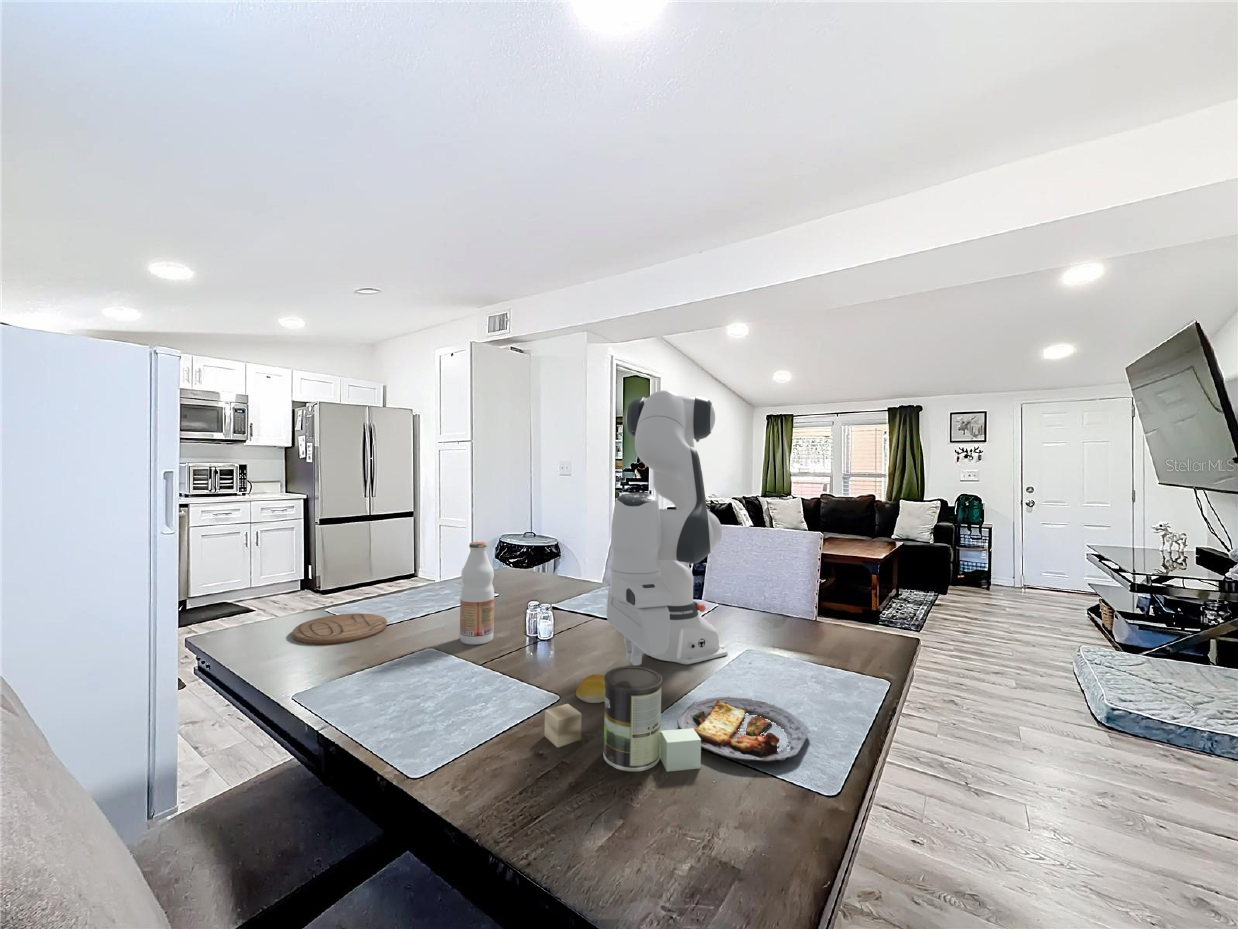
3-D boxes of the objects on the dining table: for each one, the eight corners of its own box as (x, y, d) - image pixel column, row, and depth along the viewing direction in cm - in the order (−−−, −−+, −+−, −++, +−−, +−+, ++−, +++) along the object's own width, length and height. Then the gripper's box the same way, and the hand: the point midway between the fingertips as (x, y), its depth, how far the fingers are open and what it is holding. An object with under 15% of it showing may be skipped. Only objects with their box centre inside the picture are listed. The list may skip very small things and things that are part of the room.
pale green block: (692, 756, 96) (693, 728, 96) (700, 768, 92) (701, 739, 92) (660, 759, 95) (660, 731, 95) (666, 772, 91) (667, 742, 91)
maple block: (567, 729, 105) (567, 703, 105) (581, 740, 101) (581, 713, 101) (544, 736, 102) (544, 710, 102) (557, 748, 98) (558, 720, 98)
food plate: (785, 787, 87) (785, 765, 87) (658, 745, 100) (658, 726, 100) (818, 727, 109) (818, 710, 109) (710, 699, 121) (710, 684, 121)
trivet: (371, 614, 179) (371, 609, 179) (399, 633, 161) (399, 627, 161) (284, 629, 162) (284, 623, 162) (304, 652, 144) (304, 645, 144)
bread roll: (572, 703, 117) (573, 684, 117) (582, 686, 125) (583, 669, 125) (610, 707, 115) (610, 688, 115) (617, 689, 124) (618, 672, 124)
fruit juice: (458, 646, 150) (460, 545, 149) (460, 635, 159) (462, 540, 159) (493, 644, 152) (494, 545, 151) (493, 633, 161) (495, 540, 161)
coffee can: (599, 770, 91) (600, 687, 91) (606, 739, 101) (607, 664, 101) (660, 774, 90) (662, 690, 90) (661, 742, 100) (662, 667, 100)
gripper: (599, 574, 104) (598, 645, 104) (641, 600, 85) (639, 688, 85) (629, 572, 106) (628, 641, 107) (677, 597, 87) (675, 682, 88)
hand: (633, 662), depth 96 cm, fingers closed
